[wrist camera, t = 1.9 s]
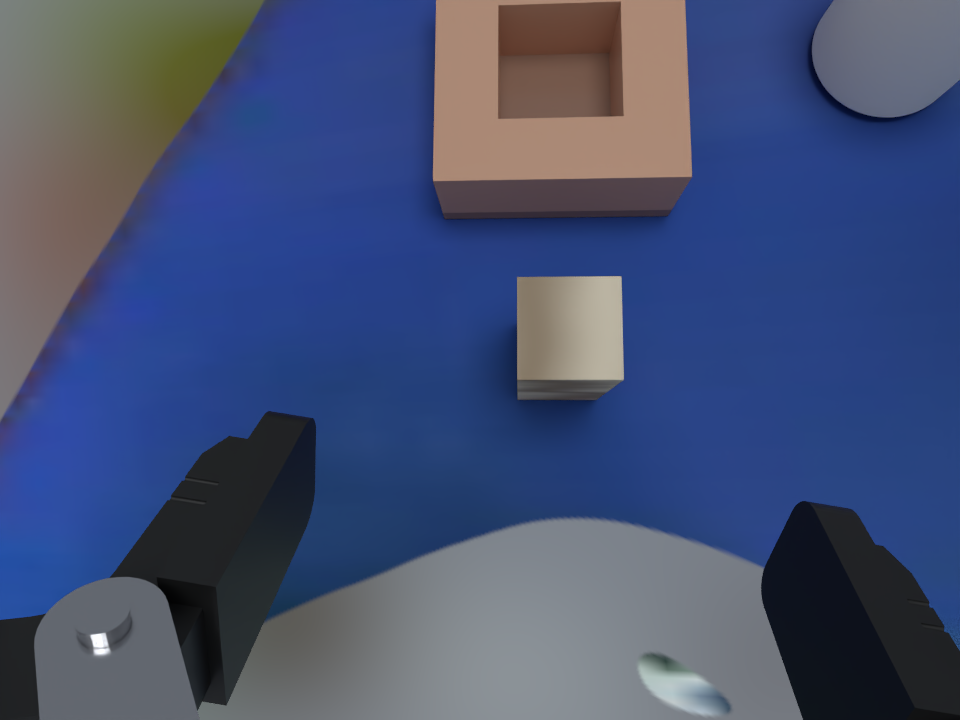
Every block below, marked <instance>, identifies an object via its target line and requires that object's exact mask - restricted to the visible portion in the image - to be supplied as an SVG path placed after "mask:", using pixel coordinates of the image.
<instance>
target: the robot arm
mask: <svg viewBox="0 0 960 720" xmlns="http://www.w3.org/2000/svg"><path fill="white" fill-rule="evenodd" d="M315 450H316V425H315V421H314V419H313V418H308V417H302V416H296V415H290V414H284V413H277V412H271V411H268V412H267V413H265V415H264V416H263V417H262V419H261V420H260V422H259V423H258V425H257V426H256V428H255V429H254V431H253V432H252V434H251V435H250V437H249V438H248V439H244V438H238V437H232V436H229V437H227V438H226V439H224V440H223V441H221V442H219V443H218V444H216V445H215V446H213V447H212V448H210V449H209V450H207V451H205V452H204V453H202V455H201V456H200V457H199V459H198V460H197V461H196V463H195V464H194V465H193V467H192V468H191V469H190V471H189V472H188V474H187V475H186V476H185V481H182V482H181V483H180V484H179V486H178V487H177V488H176V490H175V491H174V492H173V494H172V495H171V499H170V501H169V500H167V502H166V503H165V505H164V506H163V507H162V509H161V510H160V511H159V513H158V514H157V515H156V517H155V518H154V519H153V521H152V522H151V523H150V525H149V526H148V527H147V529H146V530H145V531H144V533H143V534H142V536H141V537H140V538H139V540H138V541H137V542H136V544H135V545H134V546H133V548H132V549H131V550H130V552H129V553H128V554H127V556H126V557H125V558H124V560H123V561H122V563H121V564H120V565H119V567H118V568H117V569H116V571H115V572H114V573H113V574H112V576H111V577H110V578H107V579H103V580H99V581H95V582H92V583H90V584H87V585H84V586H82V587H80V588H78V589H76V590H74V591H73V592H71V593H69V594H68V595H66V596H65V597H63V598H62V599H61V600H60V601H58V602H57V603H56V604H55V605H54V606H53V607H52V608H51V609H50V610H49V611H48V612H47V613H46V614H43V615H38V616H32V617H24V618H15V619H6V620H0V720H199V716H198V712H197V711H198V709H199V707H200V705H201V702H202V701H203V702H209V703H215V704H221V705H227V703H228V701H229V699H230V696H231V694H232V692H233V690H234V687H235V685H236V683H237V681H238V678H239V676H240V674H241V672H242V669H243V667H244V665H245V663H246V661H247V658H248V656H249V654H250V652H251V649H252V647H253V645H254V643H255V641H256V638H257V636H258V634H259V632H260V629H261V627H262V625H263V623H264V620H265V618H266V616H267V614H268V612H269V609H270V607H271V605H272V603H273V600H274V598H275V596H276V594H277V591H278V589H279V587H280V585H281V583H282V580H283V578H284V576H285V574H286V571H287V569H288V567H289V565H290V562H291V560H292V558H293V556H294V554H295V551H296V549H297V547H298V545H299V542H300V540H301V538H302V536H303V533H304V531H305V529H306V527H307V524H308V521H309V518H310V514H311V511H312V506H313V501H314V493H315ZM761 589H762V590H761V592H762V600H763V604H764V608H765V611H766V614H767V617H768V620H769V623H770V625H771V628H772V631H773V634H774V637H775V640H776V643H777V646H778V648H779V651H780V654H781V657H782V660H783V663H784V666H785V669H786V672H787V674H788V677H789V680H790V683H791V686H792V689H793V692H794V695H795V697H796V700H797V703H798V706H799V709H800V712H801V715H802V718H803V720H960V651H959V649H958V648H957V646H956V645H955V643H954V641H953V640H952V638H951V636H950V635H949V633H946V632H944V625H943V624H942V622H941V620H940V619H939V617H938V615H937V614H936V612H935V611H934V609H933V608H929V601H928V599H927V598H926V596H925V594H924V593H923V591H922V590H921V588H920V586H919V585H918V583H917V581H916V580H915V578H914V577H913V575H912V573H911V572H910V571H908V570H907V569H906V568H905V567H904V566H903V565H902V564H901V563H900V562H899V561H898V560H897V559H896V558H895V557H894V556H893V555H892V554H891V553H890V552H889V551H888V550H886V549H885V548H884V547H883V546H879V545H875V544H874V542H873V540H872V538H871V537H870V535H869V533H868V532H867V530H866V528H865V527H864V525H863V523H862V521H861V520H860V518H859V516H858V515H857V514H856V513H855V512H854V511H853V510H851V509H848V508H842V507H836V506H830V505H824V504H818V503H812V502H806V501H802V502H800V503H798V504H797V505H796V506H795V507H794V509H793V511H792V513H791V515H790V517H789V519H788V521H787V523H786V525H785V527H784V529H783V531H782V533H781V535H780V537H779V539H778V541H777V543H776V545H775V547H774V549H773V551H772V553H771V555H770V557H769V559H768V561H767V563H766V566H765V568H764V571H763V576H762V584H761Z"/></svg>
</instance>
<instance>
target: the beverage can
mask: <svg viewBox="0 0 960 720" xmlns="http://www.w3.org/2000/svg"><path fill="white" fill-rule="evenodd" d="M812 59H813V64H814V68H815V71H816V73H817V76H818V78H819V80H820V81H821V83H822V85H823V86H824V87H825V89H826V90H827V91H828V92H829V93H830V94H831V95H832V96H833V97H834V98H835V99H836V100H837V101H839V102H840V103H841V104H843V105H844V106H846V107H848V108H850V109H852V110H854V111H856V112H859V113H862V114H865V115H869V116H874V117H899V116H904V115H909V114H912V113H915V112H917V111H919V110H922V109H923V108H925V107H927V106H929V105H930V104H931V103H933V102H934V101H935V100H937V99H938V98H939V97H940V96H941V95H942V94H944V93H945V92H946V91H947V90H948V89H949V88H951V87H952V86H953V85H954V84H955V83H957V82H958V81H959V80H960V0H834V1H833V2H832V4H831V5H830V6H829V8H828V9H827V11H826V12H825V14H824V15H823V17H822V18H821V20H820V21H819V23H818V25H817V27H816V30H815V33H814V36H813V42H812Z"/></svg>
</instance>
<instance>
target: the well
mask: <svg viewBox="0 0 960 720" xmlns="http://www.w3.org/2000/svg"><path fill="white" fill-rule="evenodd" d="M691 178H692V163H691V138H690V113H689V88H688V63H687V38H686V13H685V0H436V43H435V97H434V152H433V183H434V186H435V189H436V192H437V196H438V199H439V202H440V205H441V209H442V212H443V215H444V218H445V219H484V218H560V217H637V216H668V215H669V213H670V212H671V210H672V208H673V207H674V205H675V203H676V202H677V200H678V199H679V197H680V195H681V194H682V192H683V191H684V189H685V187H686V186H687V184H688V183H689V181H690V179H691Z"/></svg>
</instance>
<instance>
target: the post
mask: <svg viewBox="0 0 960 720" xmlns="http://www.w3.org/2000/svg"><path fill="white" fill-rule="evenodd" d="M623 380H624V366H623V323H622V281H621V276H599V277H517V391H518V400H597V399H598V398H600V397H601V396H602V395H604V394H605V393H606V392H608V391H609V390H610V389H612V388H613V387H615V386H616V385H617V384H619V383H620V382H621V381H623Z"/></svg>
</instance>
